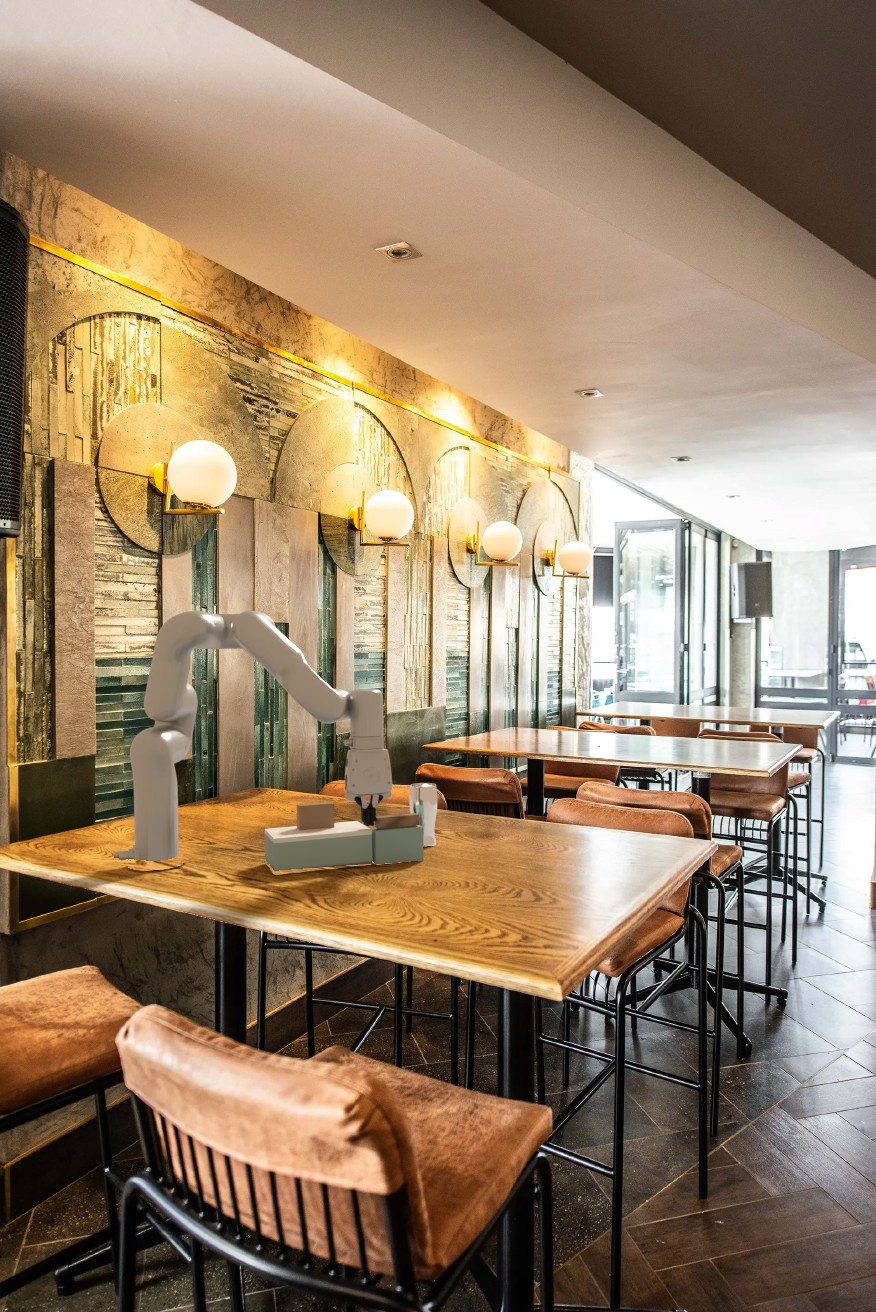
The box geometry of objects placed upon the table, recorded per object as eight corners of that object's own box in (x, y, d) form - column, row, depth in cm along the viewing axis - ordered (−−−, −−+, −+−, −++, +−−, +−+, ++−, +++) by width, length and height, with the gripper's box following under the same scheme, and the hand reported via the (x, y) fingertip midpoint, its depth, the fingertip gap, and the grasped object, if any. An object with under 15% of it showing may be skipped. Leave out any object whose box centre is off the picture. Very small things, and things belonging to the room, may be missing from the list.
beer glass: (439, 842, 213) (438, 782, 214) (436, 848, 207) (435, 786, 207) (412, 841, 214) (411, 782, 214) (408, 847, 207) (407, 786, 207)
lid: (274, 848, 182) (273, 813, 182) (264, 838, 193) (264, 804, 193) (372, 839, 190) (371, 805, 190) (357, 830, 201) (356, 797, 201)
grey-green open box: (275, 876, 181) (274, 840, 181) (264, 863, 193) (264, 829, 193) (423, 860, 193) (423, 826, 194) (405, 849, 205) (404, 817, 205)
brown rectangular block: (377, 828, 190) (377, 818, 190) (374, 827, 192) (374, 816, 192) (419, 824, 194) (418, 814, 194) (415, 823, 196) (415, 812, 196)
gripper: (339, 746, 185) (340, 830, 184) (403, 743, 190) (405, 824, 190) (330, 744, 192) (332, 825, 191) (393, 740, 197) (394, 819, 197)
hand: (368, 824), depth 191 cm, fingers closed
